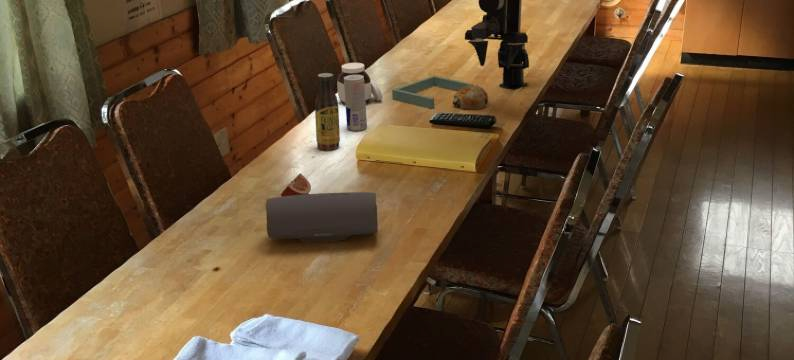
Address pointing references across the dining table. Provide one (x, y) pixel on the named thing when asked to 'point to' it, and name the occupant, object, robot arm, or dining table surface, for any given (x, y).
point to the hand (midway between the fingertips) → (494, 67)
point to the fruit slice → (297, 187)
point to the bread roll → (471, 98)
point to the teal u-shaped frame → (409, 90)
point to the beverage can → (355, 102)
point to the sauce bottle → (327, 114)
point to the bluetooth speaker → (322, 216)
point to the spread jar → (370, 85)
